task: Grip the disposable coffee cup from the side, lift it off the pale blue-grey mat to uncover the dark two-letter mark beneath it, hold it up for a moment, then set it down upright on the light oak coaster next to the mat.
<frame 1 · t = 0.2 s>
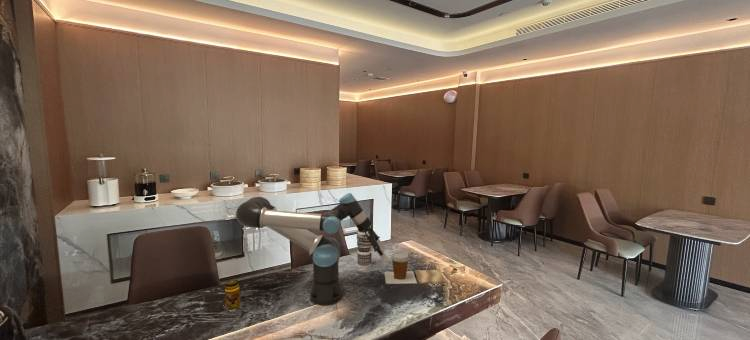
hand: (384, 254, 161), 15 cm above the table, tool tilted 35°, fingers open, 13 cm apart
decorative candle: (364, 264, 186), on the table
disposable coffee cup: (400, 277, 169), resting on code mat
condiment: (232, 307, 141), on the table
code mat: (400, 277, 169), on the table
oak coaster: (429, 277, 169), on the table
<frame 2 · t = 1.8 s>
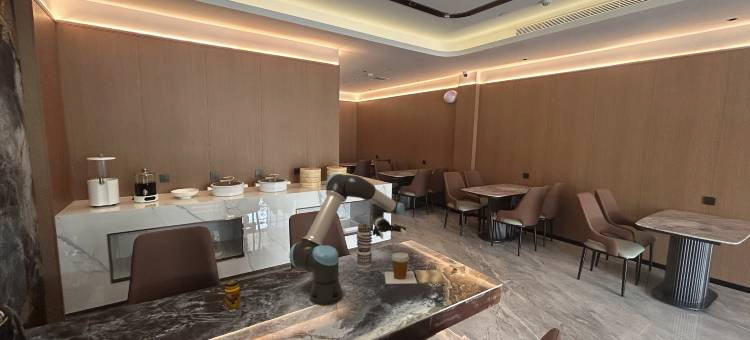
hand: (394, 235, 176), 21 cm above the table, tool horizontal, fingers open, 13 cm apart
nothing on the table moved.
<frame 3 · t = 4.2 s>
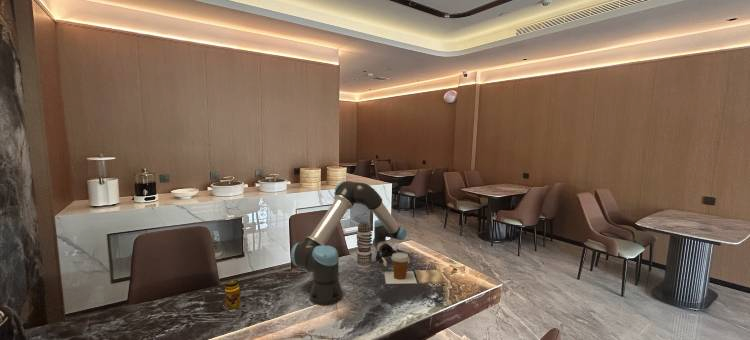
hand: (397, 262, 173), 6 cm above the table, tool horizontal, fingers open, 13 cm apart
nothing on the table moved.
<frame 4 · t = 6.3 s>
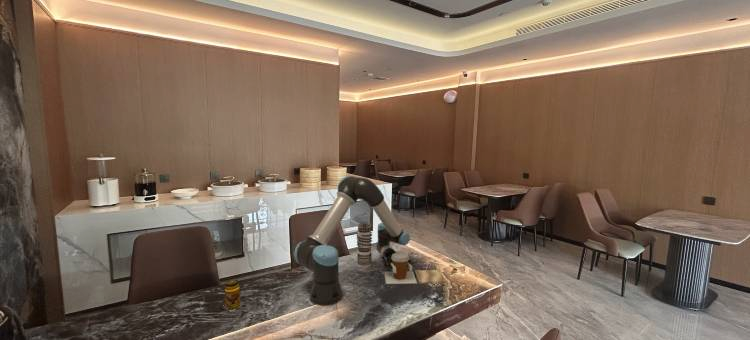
hand: (403, 269, 164), 6 cm above the table, tool horizontal, fingers closed on disposable coffee cup, 8 cm apart
disposable coffee cup: (400, 277, 169), resting on code mat, touching gripper
everything else where it was.
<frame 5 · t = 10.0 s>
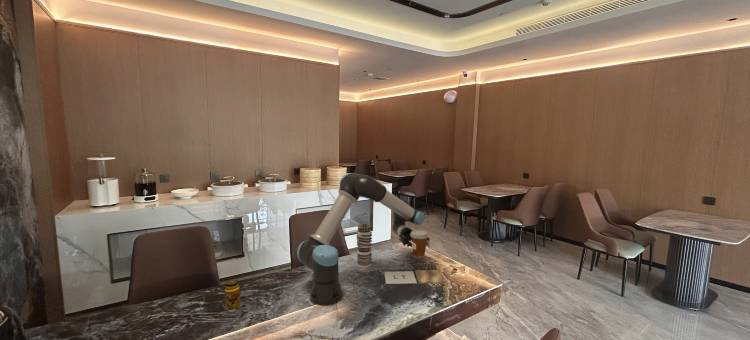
hand: (423, 246, 164), 18 cm above the table, tool horizontal, fingers closed on disposable coffee cup, 8 cm apart
disposable coffee cup: (418, 254, 169), point 12 cm above the table, touching gripper
everything else where it was.
when the fingers open (9 cm above the table, at t = 13.5 s): disposable coffee cup drops 2 cm, resting on oak coaster.
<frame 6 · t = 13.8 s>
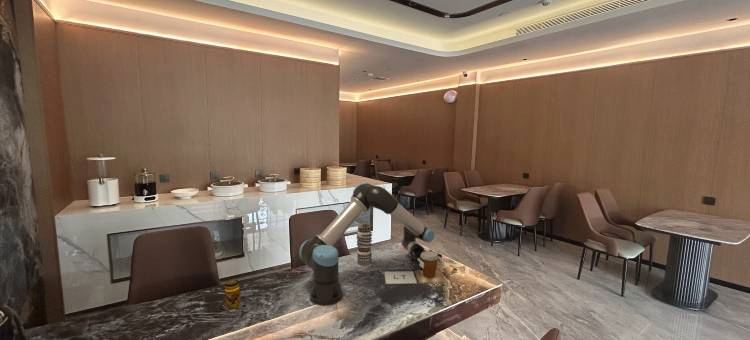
hand: (433, 264, 165), 9 cm above the table, tool horizontal, fingers open, 11 cm apart
disposable coffee cup: (429, 275, 169), point 1 cm above the table, touching oak coaster
everything else where it was.
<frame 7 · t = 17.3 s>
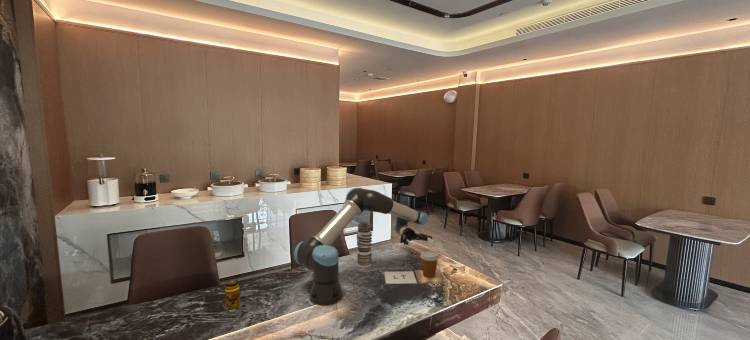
hand: (422, 244, 177), 15 cm above the table, tool horizontal, fingers open, 13 cm apart
nothing on the table moved.
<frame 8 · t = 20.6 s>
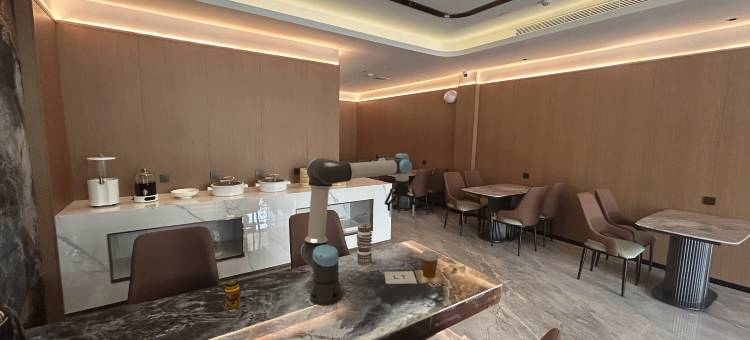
hand: (401, 216, 185), 29 cm above the table, tool pointing down, fingers open, 13 cm apart
nothing on the table moved.
at the end: disposable coffee cup inside the target area (0.3 cm from its centre), point 0.6 cm above the table; disposable coffee cup tilted 0°; the gripper is holding nothing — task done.
